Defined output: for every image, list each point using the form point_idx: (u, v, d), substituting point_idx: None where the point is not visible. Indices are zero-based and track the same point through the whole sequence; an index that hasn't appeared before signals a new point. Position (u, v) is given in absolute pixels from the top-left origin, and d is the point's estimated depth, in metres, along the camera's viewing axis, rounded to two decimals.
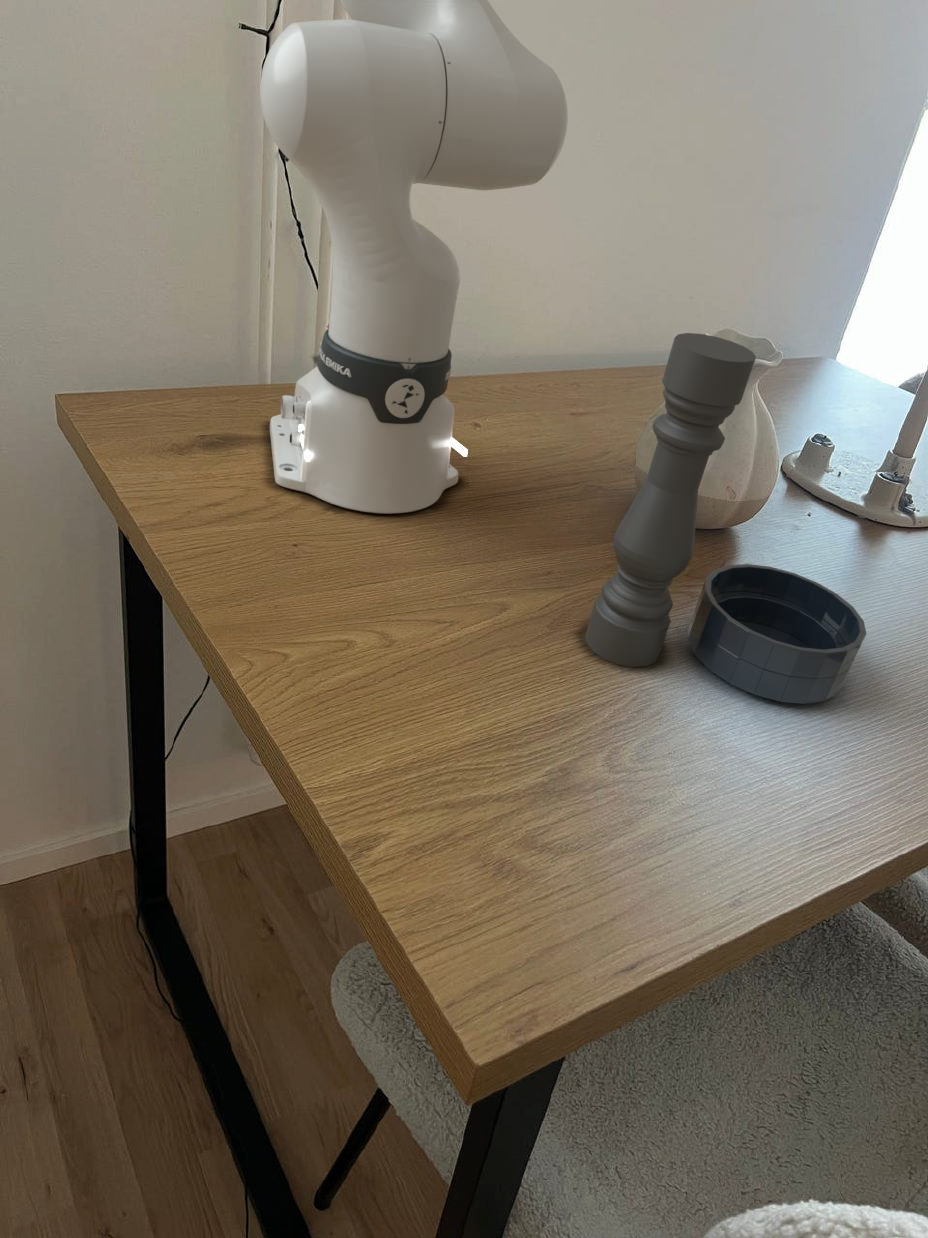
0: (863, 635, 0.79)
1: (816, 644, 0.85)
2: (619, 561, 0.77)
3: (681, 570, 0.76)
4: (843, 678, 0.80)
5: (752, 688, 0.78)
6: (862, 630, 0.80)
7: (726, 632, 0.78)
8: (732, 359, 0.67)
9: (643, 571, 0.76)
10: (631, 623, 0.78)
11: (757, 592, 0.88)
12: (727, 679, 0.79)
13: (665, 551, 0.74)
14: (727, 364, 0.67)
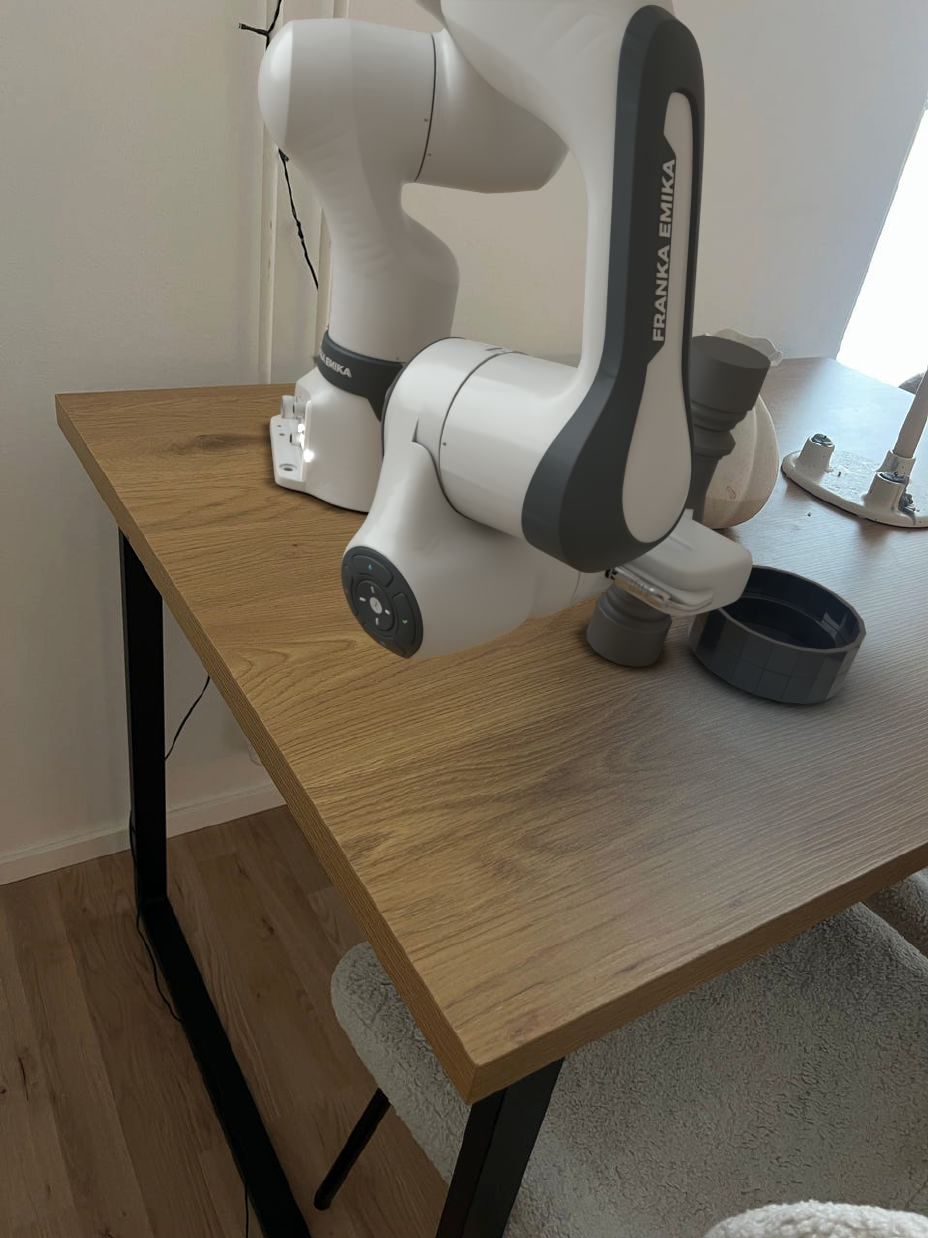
0: (863, 635, 0.79)
1: (816, 644, 0.85)
2: None
3: None
4: (843, 678, 0.80)
5: (752, 688, 0.78)
6: (862, 630, 0.80)
7: (726, 632, 0.78)
8: (747, 365, 0.67)
9: None
10: (632, 623, 0.78)
11: (757, 592, 0.88)
12: (727, 679, 0.79)
13: None
14: (742, 370, 0.66)
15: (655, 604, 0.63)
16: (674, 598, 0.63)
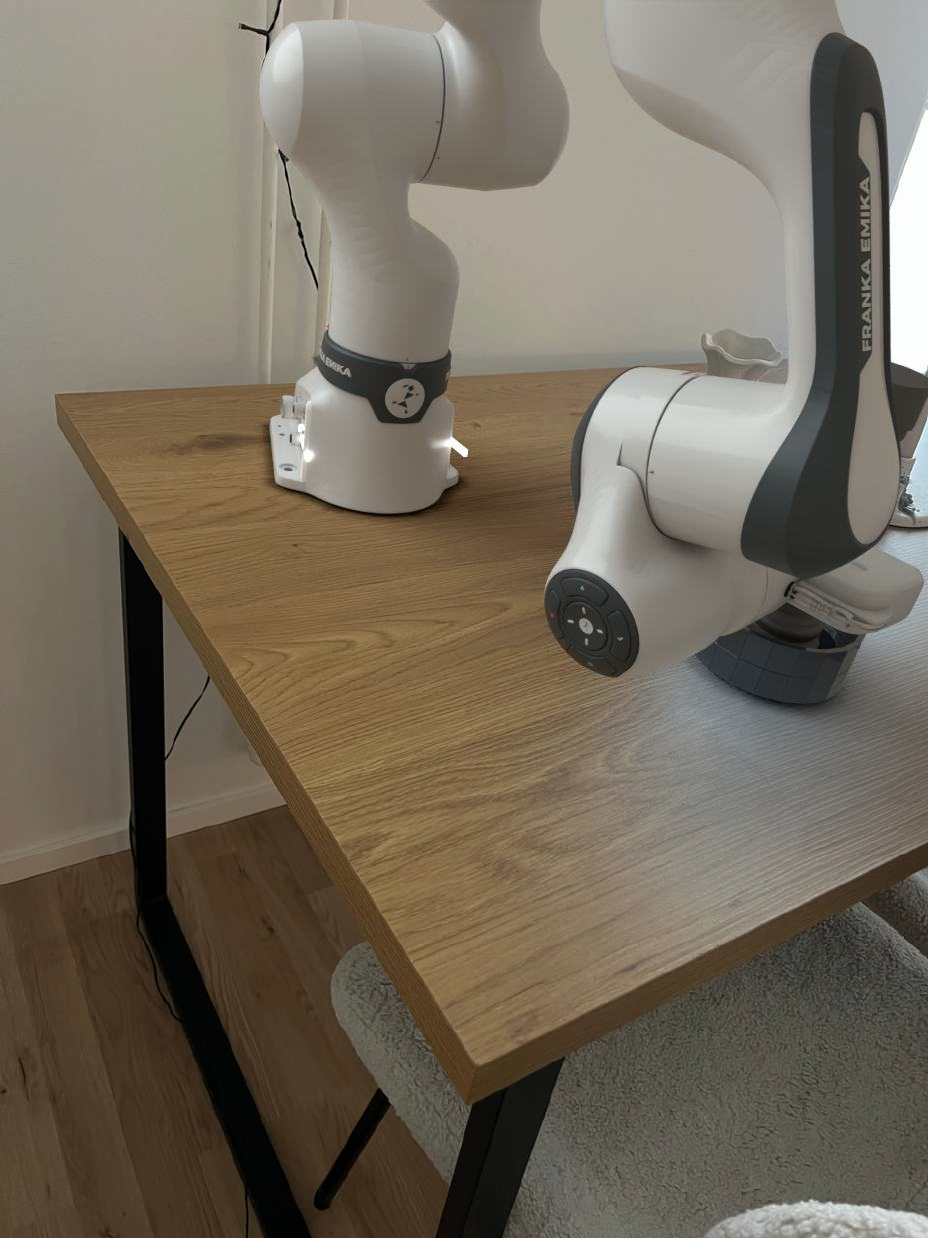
0: (863, 635, 0.79)
1: None
2: None
3: None
4: (843, 678, 0.80)
5: (752, 688, 0.78)
6: None
7: None
8: (896, 382, 0.67)
9: None
10: (767, 636, 0.79)
11: None
12: (727, 679, 0.79)
13: None
14: None
15: (838, 623, 0.64)
16: (856, 617, 0.64)
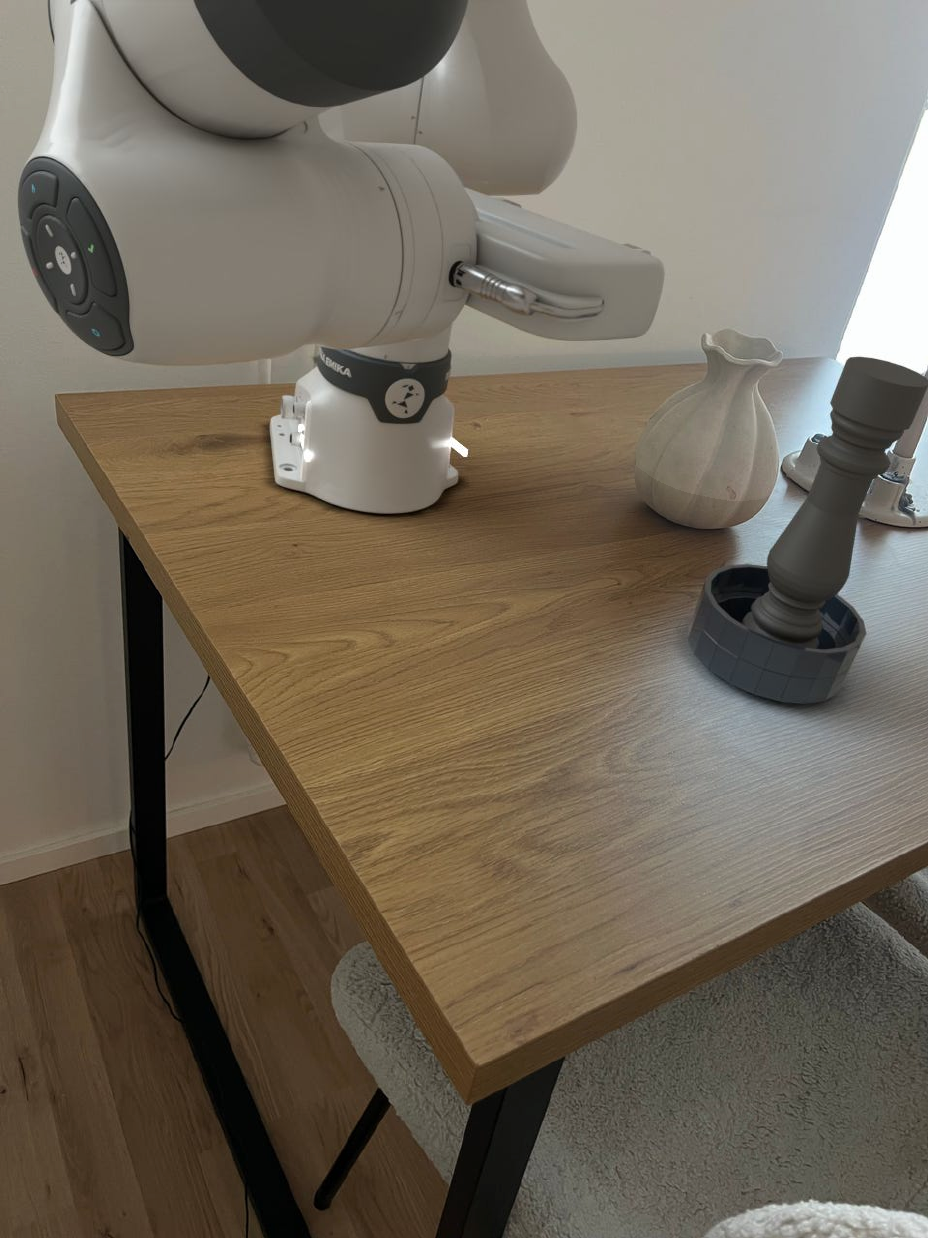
0: (863, 635, 0.79)
1: None
2: (768, 573, 0.79)
3: (824, 594, 0.76)
4: (843, 678, 0.80)
5: (752, 688, 0.78)
6: (862, 630, 0.80)
7: (726, 632, 0.78)
8: (892, 381, 0.67)
9: (783, 584, 0.76)
10: (766, 636, 0.79)
11: (757, 592, 0.88)
12: (727, 679, 0.79)
13: (805, 567, 0.75)
14: (883, 384, 0.67)
15: (514, 308, 0.43)
16: (542, 301, 0.43)
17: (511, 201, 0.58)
